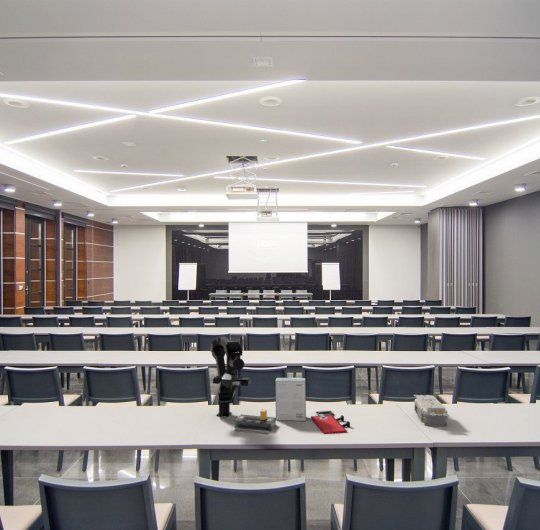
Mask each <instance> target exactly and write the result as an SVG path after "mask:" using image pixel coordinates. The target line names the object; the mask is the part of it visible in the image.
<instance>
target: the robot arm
mask: <svg viewBox="0 0 540 530" xmlns="http://www.w3.org/2000/svg"><path fill="white" fill-rule="evenodd" d="M210 343H211V344H210V347H209V349H210V351H209V352H210V353H211V356H212V358H213V359H214V360H215V363H216V370H217V375H216V376H214V377H213V378H212V384H216V385H217V384H219V385H218V388H217V393H216V396H215V398H214V400H215V404H216V405H218V412H217V414H216V416H217V417H227V418H228V417H229V416H231V415H232V414H233V412H232V411H231V407H230V406H231V404H233V403H234V400H235V395H236V394H235V393H236V391H237V388H238V387H239V386H240V385H241V386H244V387H248V386H250V385H251V384H252V378H251V377H243V378H239V377H240V376H239V375H238V374H239V372H240V371H241V370H243V369H244V367H245V362H244V360H243V359H242V358H241V356H243V349H242V346H241V344H240V342H239V341H238V340H231V339H230V338H228V337H227V335H226V336H225V335H218V336H216V338H215V339H214V340H213V341H211V342H210ZM225 356H226V361H225ZM238 371H239V372H238Z"/></svg>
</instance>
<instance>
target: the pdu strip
mask: <svg viewBox="0 0 540 530" xmlns="http://www.w3.org/2000/svg"><path fill="white" fill-rule="evenodd" d="M276 425H277V420H276V417H272V416H267V418H266V420H260V415H253V414H252V415H250V414H240V415H238V417H237V418H235V419H234V428H235V427H243V428H253V429H263V430H268V432H272V431H273V429H274V428H275V427H276Z"/></svg>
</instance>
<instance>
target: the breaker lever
mask: <svg viewBox="0 0 540 530" xmlns="http://www.w3.org/2000/svg"><path fill="white" fill-rule="evenodd" d="M267 411H268V409H263V408H262V409H261V410H260V411H259V413H260V415H259V416H260V420H266V418H267V417H268V412H267Z"/></svg>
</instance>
